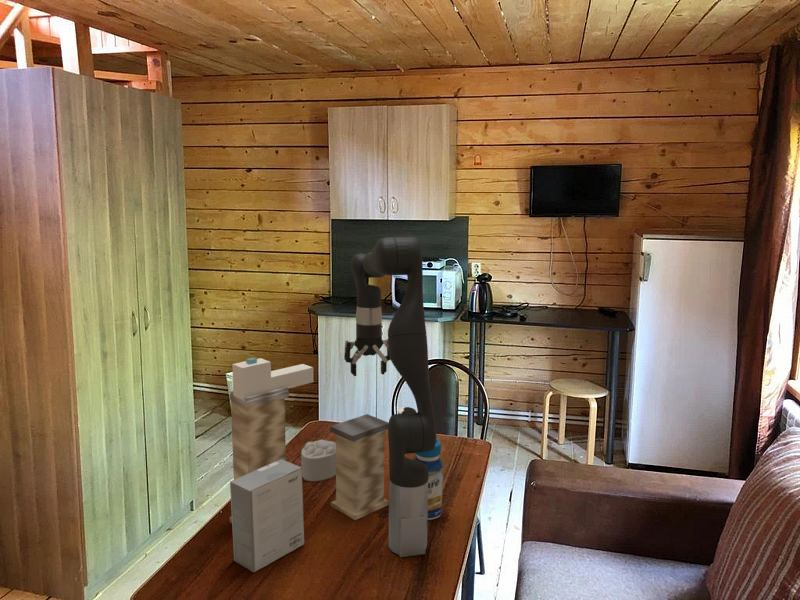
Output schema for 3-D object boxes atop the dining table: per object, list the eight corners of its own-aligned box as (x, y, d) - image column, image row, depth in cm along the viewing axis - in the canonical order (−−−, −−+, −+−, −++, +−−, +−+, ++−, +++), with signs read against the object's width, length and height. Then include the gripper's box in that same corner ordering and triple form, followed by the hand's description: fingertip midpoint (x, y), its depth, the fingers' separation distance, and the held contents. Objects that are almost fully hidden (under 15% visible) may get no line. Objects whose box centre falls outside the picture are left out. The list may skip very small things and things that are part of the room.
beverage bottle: (445, 507, 177) (447, 437, 173) (438, 523, 169) (440, 450, 165) (415, 503, 179) (416, 433, 175) (406, 518, 171) (408, 445, 167)
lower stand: (365, 491, 185) (365, 413, 181) (390, 504, 178) (391, 423, 174) (329, 507, 176) (328, 425, 172) (353, 521, 169) (353, 436, 165)
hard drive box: (284, 533, 163) (282, 458, 159) (305, 544, 158) (304, 467, 155) (232, 561, 151) (229, 480, 147) (253, 574, 146) (250, 490, 143)
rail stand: (272, 504, 177) (269, 380, 171) (292, 516, 171) (290, 388, 165) (229, 521, 168) (224, 391, 162) (248, 535, 162) (244, 400, 156)
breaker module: (303, 378, 176) (302, 345, 174) (313, 382, 173) (313, 348, 171) (233, 395, 161) (232, 360, 159) (243, 400, 158) (242, 364, 156)
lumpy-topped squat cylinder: (345, 467, 201) (345, 440, 199) (322, 484, 189) (322, 456, 188) (316, 460, 205) (316, 434, 204) (292, 477, 194) (292, 449, 192)
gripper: (347, 325, 187) (347, 379, 190) (395, 323, 191) (395, 376, 194) (342, 319, 194) (342, 372, 197) (389, 317, 198) (388, 369, 201)
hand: (368, 374), depth 196 cm, fingers open, 8 cm apart
